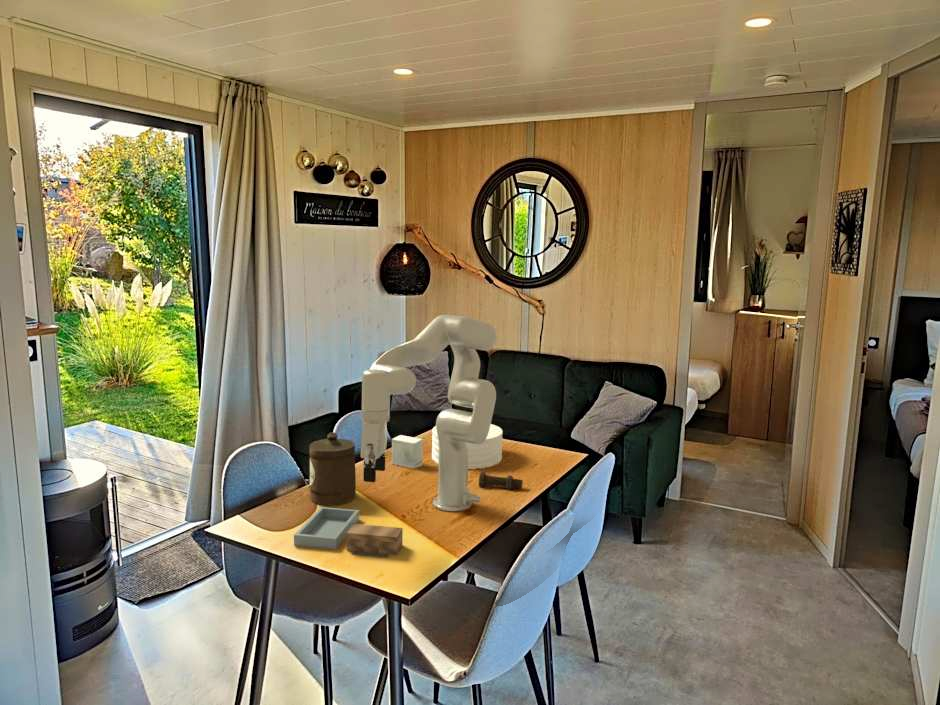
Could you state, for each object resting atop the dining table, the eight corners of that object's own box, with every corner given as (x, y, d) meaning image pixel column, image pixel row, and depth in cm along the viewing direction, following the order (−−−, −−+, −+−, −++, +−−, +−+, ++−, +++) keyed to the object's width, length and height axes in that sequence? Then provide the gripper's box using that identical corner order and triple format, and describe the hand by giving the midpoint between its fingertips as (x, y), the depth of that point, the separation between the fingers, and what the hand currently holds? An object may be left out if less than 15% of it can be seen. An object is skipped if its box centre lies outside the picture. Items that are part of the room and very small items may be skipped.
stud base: (397, 544, 183) (397, 531, 182) (387, 561, 173) (387, 547, 173) (362, 541, 184) (362, 528, 184) (351, 557, 175) (351, 543, 174)
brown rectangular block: (402, 545, 181) (402, 528, 180) (396, 554, 175) (396, 537, 174) (353, 540, 183) (353, 523, 182) (346, 550, 177) (346, 532, 176)
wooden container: (320, 487, 225) (319, 425, 222) (361, 491, 223) (361, 428, 219) (302, 503, 211) (301, 437, 207) (346, 507, 208) (345, 441, 205)
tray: (359, 522, 197) (359, 510, 196) (336, 552, 177) (335, 538, 177) (321, 519, 199) (321, 506, 198) (294, 548, 179) (293, 534, 179)
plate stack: (475, 443, 280) (476, 417, 279) (515, 461, 258) (516, 433, 256) (418, 453, 265) (419, 426, 263) (456, 474, 242) (457, 444, 240)
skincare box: (391, 465, 250) (391, 438, 248) (400, 460, 256) (400, 434, 254) (414, 469, 245) (414, 442, 244) (423, 464, 251) (423, 438, 249)
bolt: (521, 495, 227) (478, 490, 230) (523, 484, 231) (481, 479, 234) (521, 484, 224) (478, 479, 226) (523, 473, 227) (480, 468, 230)
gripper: (371, 407, 186) (370, 465, 188) (352, 421, 169) (351, 485, 171) (396, 409, 185) (395, 467, 187) (380, 423, 168) (379, 487, 170)
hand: (374, 475), depth 179 cm, fingers open, 9 cm apart
